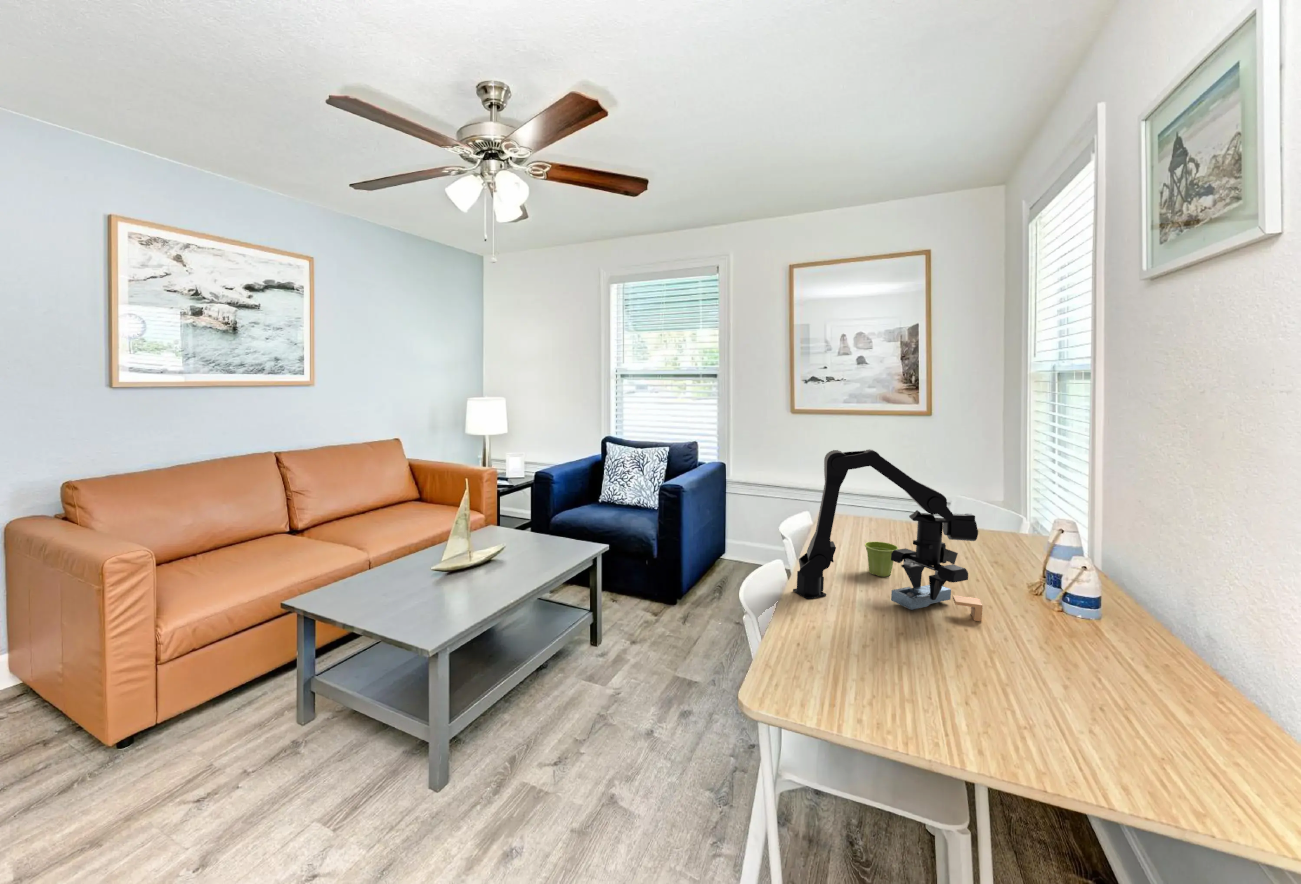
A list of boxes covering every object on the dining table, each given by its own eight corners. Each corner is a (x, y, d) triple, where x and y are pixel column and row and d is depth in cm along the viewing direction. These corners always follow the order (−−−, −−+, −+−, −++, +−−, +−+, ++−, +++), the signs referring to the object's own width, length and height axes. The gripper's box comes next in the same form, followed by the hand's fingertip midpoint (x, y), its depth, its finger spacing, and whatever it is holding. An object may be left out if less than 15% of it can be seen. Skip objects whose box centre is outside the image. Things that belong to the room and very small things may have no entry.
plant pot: (902, 579, 154) (904, 550, 153) (870, 578, 154) (871, 550, 154) (888, 568, 164) (890, 541, 163) (858, 568, 164) (859, 541, 163)
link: (911, 609, 130) (911, 598, 129) (891, 600, 135) (891, 590, 135) (953, 600, 135) (954, 590, 135) (932, 592, 141) (933, 582, 141)
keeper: (954, 617, 128) (955, 601, 128) (951, 610, 132) (952, 595, 132) (981, 621, 126) (982, 605, 125) (977, 614, 130) (978, 598, 130)
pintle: (910, 609, 132) (910, 594, 132) (903, 606, 134) (904, 591, 134) (915, 608, 133) (916, 593, 133) (909, 605, 135) (910, 590, 135)
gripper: (985, 544, 129) (981, 605, 130) (920, 526, 146) (917, 580, 147) (954, 549, 124) (949, 612, 126) (891, 530, 142) (887, 585, 143)
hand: (925, 596), depth 136 cm, fingers closed on link, 4 cm apart
